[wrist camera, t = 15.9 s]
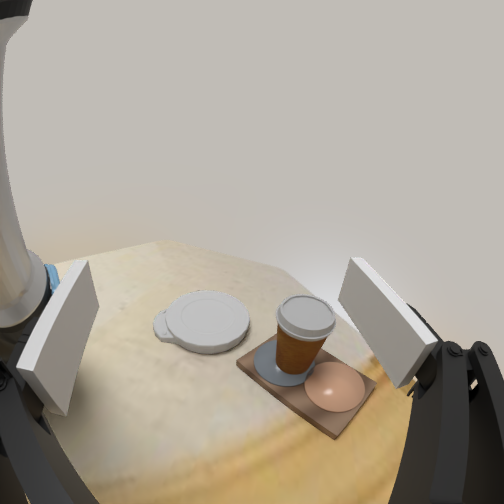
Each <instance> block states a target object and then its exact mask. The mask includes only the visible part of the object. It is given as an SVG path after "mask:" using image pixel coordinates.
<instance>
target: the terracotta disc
mask: <svg viewBox="0 0 504 504" xmlns="http://www.w3.org/2000/svg"><path fill="white" fill-rule="evenodd" d="M312 370H314V371H311V370H310V371H309V372H308V373H310V372H313V373H312V375H308V373H307V375H308V376H307V378H305V379H306V380H305V382H304V388H305V392H306V394H307V396H308V398H309V399H310V400H311V401H312V402H313V403H314V404H315V405H316V406H318V407H319V408H321V409H323V410H326V411H329V412H336V413H340V412H346V411H349V410H352V409H353V408H355V407H356V406H357V405H358V404H359V403H360V402H361V401H362V399H363V397H364V394H365V385H364V382H363V380H362V378H361V376H360V375H359V374H358V373H357V372H356V371H355V370H354V369H352V368H351V367H349V366H347V365H345V364H342V363H338V362H324V363H320V364H318V365H316V366H314V367H313V368H312Z"/></svg>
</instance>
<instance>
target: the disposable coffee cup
mask: <svg viewBox="0 0 504 504" xmlns="http://www.w3.org/2000/svg"><path fill="white" fill-rule="evenodd" d="M276 319H277V323H278V326H277V345H276V359H275V360H276V364H277V366H278V368H279V369H280V370H282V371H283V372H285V373H288V374H292V375H298V374H302V373H304V372H306V371H307V370H308V368H309V367H310V365H311V364H312V362H313V360H314V359H315V357H316V355H317V354H318V352H319V350H320V349H321V347H322V345H323V344H324V342H325V340H326V338H327V337H328V336H329V335H330V334H331V333H332V332H333V330H334V329H335V326H336V319H335V312H334V310H333V308H332V307H331V306H330V305H329V304H328V303H327V302H326V301H324V300H322V299H320V298H318V297H315V296H312V295H306V294H297V295H292V296H289V297H287V298H286V299H284V300H283V301H282V303H281V304H280V305H279V306H278V308H277V310H276Z"/></svg>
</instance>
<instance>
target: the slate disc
mask: <svg viewBox="0 0 504 504" xmlns="http://www.w3.org/2000/svg"><path fill="white" fill-rule="evenodd" d="M276 345H277V340H273V341H269V342H267V343H265V344H263V345H261V346H260V347H259V348H258V349H257V351H256V353H255V355H254V367H255V369H256V371H257V373H258V374H259V375H260V376H261V377H262V378H263V379H264V380H266V381H267V382H269V383H271V384H274V385H277V386H282V387H293V386H297V385H300V384H302V383H304V382H305V380H306V379H305V378H307V376H308V375H312V373H313V372H310V373H308V372H309V371H310V370H311V371H314V370H312V368H313V367H314V366H315V362H314V360H313V362H312V364H311V365H310V367H309V368H308V370H307V371H306V372H304V373H302V374H298V375H292V374H288V373H285V372H283V371H282V370H280V369H279V368H278V366H277V364H276V360H275V359H276ZM307 373H308V375H307Z"/></svg>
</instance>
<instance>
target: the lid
mask: <svg viewBox="0 0 504 504" xmlns="http://www.w3.org/2000/svg"><path fill="white" fill-rule="evenodd" d="M249 323H250V317H249V312H248V310H247V308H246V307H245V305H244V304H243V303H242V302H241V301H239V300H238V299H237V298H235V297H233V296H231V295H229V294H226V293H222V292H218V291H205V290H202V291H196V292H190V293H188V294H185V295H182V296H180V297H179V298H177V299H176V300H175V301H173V302H172V303H171V305H170V306H169V308H168V309H165V310H163V311H160V313H159V314H158V315H157V316H156V317H155V319H154V322H153V328H154V332H155V335H156V336H157V337H158V339H159V340H160V341H161V342H168V343H175V344H179V345H180V346H182V347H184V348H185V349H187V350H190V351H193V352H197V353H202V354H215V353H220V352H224V351H227V350H229V349H231V348H233V347H235V346H237V345H238V344H239V343H240V342H241V340H242V339H243V338H244V336H245V333H246V331H247V329H248V326H249Z"/></svg>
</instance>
